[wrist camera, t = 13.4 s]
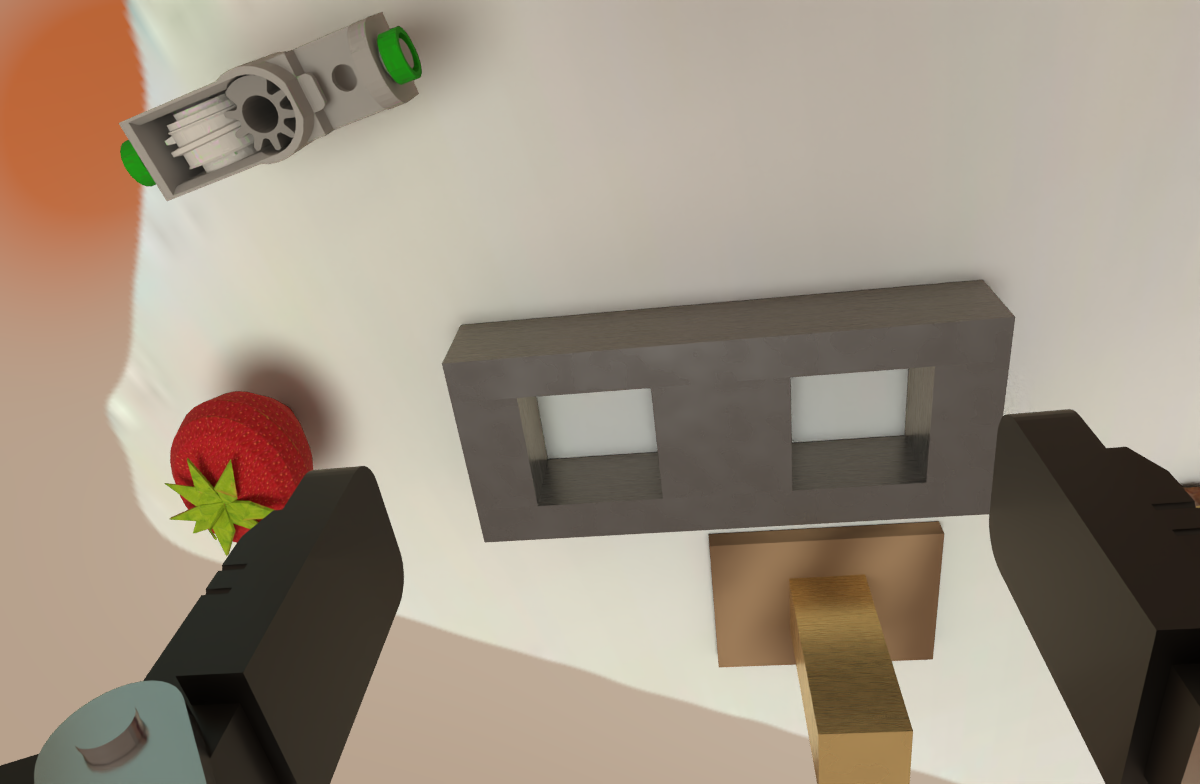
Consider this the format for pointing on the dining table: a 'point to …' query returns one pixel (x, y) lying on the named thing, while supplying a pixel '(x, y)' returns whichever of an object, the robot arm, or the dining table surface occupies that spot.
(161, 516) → the dining table surface
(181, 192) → the mechanical component
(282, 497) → the strawberry
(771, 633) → the walnut board
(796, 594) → the brass peg
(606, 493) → the grey slotted block
